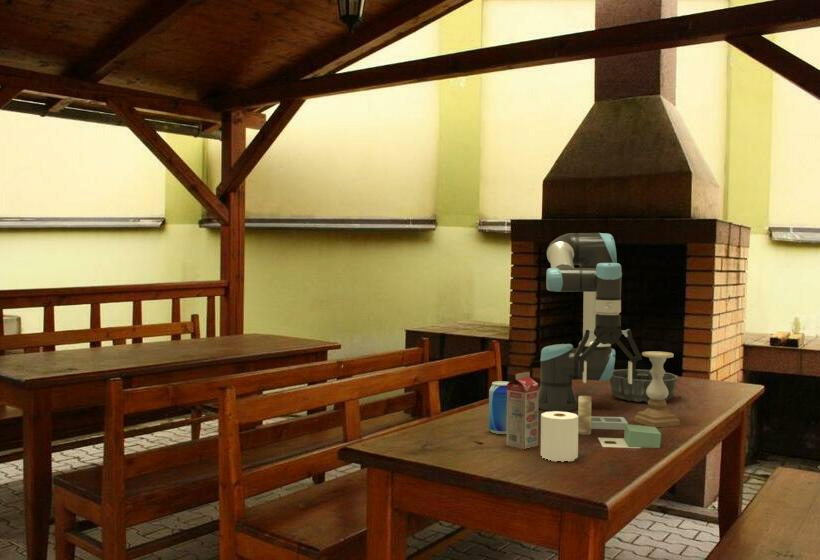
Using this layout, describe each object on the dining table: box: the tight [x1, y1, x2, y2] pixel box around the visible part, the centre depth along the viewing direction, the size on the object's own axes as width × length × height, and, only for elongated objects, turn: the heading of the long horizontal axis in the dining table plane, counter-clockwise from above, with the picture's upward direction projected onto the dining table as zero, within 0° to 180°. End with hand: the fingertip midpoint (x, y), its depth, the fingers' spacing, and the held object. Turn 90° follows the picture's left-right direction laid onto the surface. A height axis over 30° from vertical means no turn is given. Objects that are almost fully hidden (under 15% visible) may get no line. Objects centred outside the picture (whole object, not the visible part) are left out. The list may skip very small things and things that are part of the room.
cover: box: [623, 423, 662, 449], centre depth 228 cm, size 9×9×4 cm
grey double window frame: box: [591, 415, 629, 431], centre depth 251 cm, size 15×9×2 cm, turn 83°
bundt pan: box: [609, 368, 679, 404], centre depth 299 cm, size 26×26×10 cm
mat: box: [597, 437, 642, 449], centre depth 229 cm, size 11×11×1 cm
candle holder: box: [633, 350, 681, 429], centre depth 256 cm, size 11×11×24 cm
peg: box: [577, 395, 592, 436], centre depth 240 cm, size 4×4×12 cm
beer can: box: [488, 380, 510, 435], centre depth 243 cm, size 8×8×16 cm
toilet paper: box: [540, 411, 579, 463], centre depth 214 cm, size 10×10×12 cm
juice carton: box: [506, 371, 540, 449], centre depth 226 cm, size 7×7×22 cm
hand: (607, 382), depth 232 cm, fingers open, 13 cm apart
